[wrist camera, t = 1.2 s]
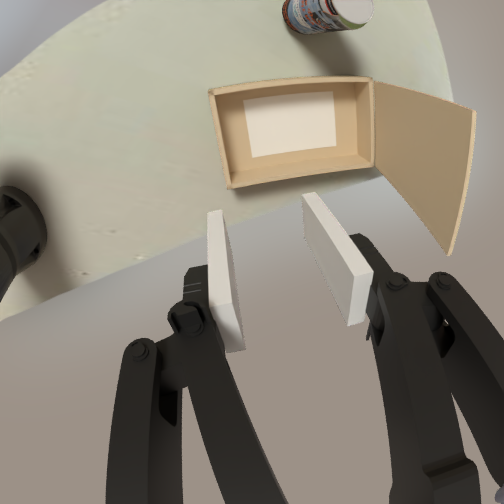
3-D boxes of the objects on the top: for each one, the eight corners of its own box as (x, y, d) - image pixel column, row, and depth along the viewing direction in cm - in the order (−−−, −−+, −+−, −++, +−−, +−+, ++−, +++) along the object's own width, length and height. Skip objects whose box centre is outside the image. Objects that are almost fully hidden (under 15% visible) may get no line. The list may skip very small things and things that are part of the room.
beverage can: (278, -6, 24) (307, -34, 15) (332, 0, 25) (378, -19, 15) (280, 35, 28) (311, 21, 18) (334, 39, 29) (382, 33, 19)
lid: (447, 255, 19) (451, 255, 19) (472, 110, 12) (477, 111, 12) (375, 166, 34) (378, 166, 34) (373, 81, 28) (377, 81, 28)
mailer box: (225, 176, 39) (227, 189, 35) (208, 89, 31) (207, 91, 28) (359, 156, 39) (374, 166, 35) (355, 75, 32) (372, 77, 28)
